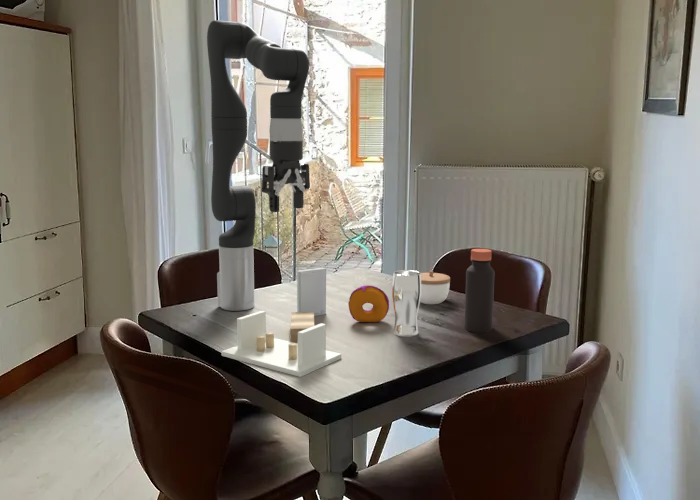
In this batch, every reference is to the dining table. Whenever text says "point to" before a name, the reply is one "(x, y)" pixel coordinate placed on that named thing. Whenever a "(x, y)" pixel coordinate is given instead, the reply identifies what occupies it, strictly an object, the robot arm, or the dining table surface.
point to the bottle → (479, 292)
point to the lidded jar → (434, 287)
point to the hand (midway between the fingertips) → (286, 209)
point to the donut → (368, 296)
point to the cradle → (280, 347)
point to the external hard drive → (311, 291)
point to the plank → (300, 323)
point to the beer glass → (406, 301)
